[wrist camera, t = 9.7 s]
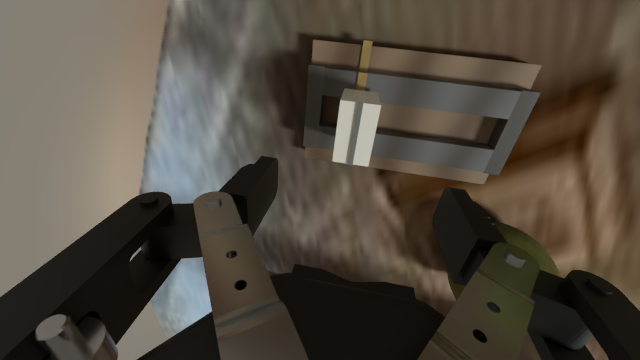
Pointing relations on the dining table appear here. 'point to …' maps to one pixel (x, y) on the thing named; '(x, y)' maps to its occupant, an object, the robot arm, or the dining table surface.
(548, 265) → the fruit
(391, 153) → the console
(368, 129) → the fader knob
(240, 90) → the dining table surface
